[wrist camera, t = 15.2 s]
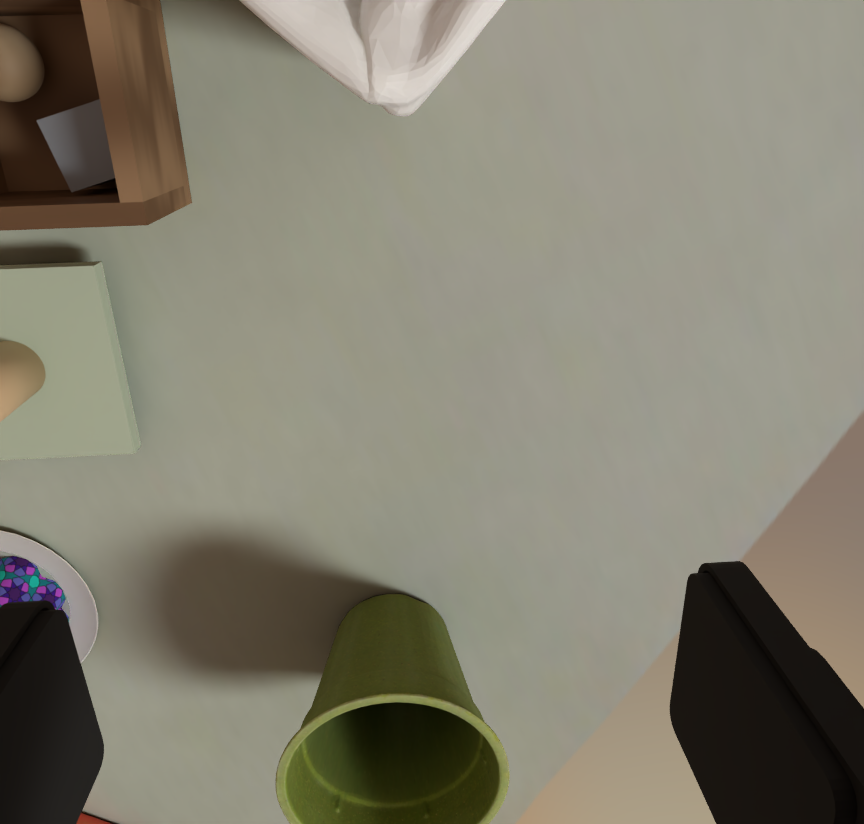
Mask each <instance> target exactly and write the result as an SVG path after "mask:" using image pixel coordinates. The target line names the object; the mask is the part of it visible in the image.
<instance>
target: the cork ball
mask: <svg viewBox="0 0 864 824" xmlns="http://www.w3.org/2000/svg"><path fill="white" fill-rule="evenodd" d="M43 80H44V63H43V59H42V57H41V54H40V52H39V50H38V49H37V47H36V46H35V44H34V43H33V42H32V41H31V40H30V39H29V38H28V37H27V36H26V35H25V34H23V33H22V32H21V31H19V30H17V29H16V28H13V27H11V26H8V25H5V24H1V23H0V101H5V102H20V101H24V100H26V99H29V98H30V97H32V96H33V95H34V94H36V93H37V91H38V90H39V89H40V87H41V85H42V83H43Z"/></svg>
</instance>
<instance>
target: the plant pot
mask: <svg viewBox="0 0 864 824" xmlns="http://www.w3.org/2000/svg"><path fill="white" fill-rule="evenodd" d="M508 785H509V764H508V760H507V756H506V753H505V750H504V748H503V746H502V744H501V742H500V740H499V739H498V737H497V736H496V734H495V733H494V732H493V730H492V729H491V728H490V727H489V726H488V725H487V724H486V723H485V722H484V720H483V718H482V715H481V713H480V711H479V710H478V708H477V706H476V705H475V704H474V702H473V700H472V697H471V694H470V692H469V689H468V686H467V683H466V681H465V678H464V675H463V672H462V670H461V667H460V664H459V661H458V659H457V656H456V653H455V650H454V648H453V645H452V642H451V639H450V636H449V633H448V631H447V628H446V625H445V623H444V621H443V619H442V617H441V616H440V615H439V613H438V612H437V611H436V610H435V609H434V608H433V607H432V606H430V605H429V604H427V603H423V602H421V601H418V600H416V599H413V598H411V597H409V596H407V595H401V594H385V595H380V596H375V597H372V598H369V599H367V600H365V601H363V602H361V603H359V604H358V605H356V606H355V607H353V608H352V609H351V610H350V611H349V612H348V614H347V615H346V617H345V618H344V619H343V621H342V622H341V624H340V626H339V628H338V631H337V634H336V636H335V639H334V643H333V646H332V649H331V651H330V654H329V657H328V660H327V663H326V666H325V669H324V672H323V675H322V678H321V681H320V684H319V687H318V690H317V693H316V696H315V699H314V701H313V704H312V707H311V709H310V710H309V712H308V713H307V715H306V717H305V719H304V721H303V723H302V726H301V729H300V730H299V731H298V732H297V733H296V734H295V735H294V736H293V738H292V739H291V740H290V742H289V743H288V745H287V746H286V748H285V750H284V752H283V754H282V756H281V758H280V761H279V764H278V768H277V773H276V793H277V798H278V802H279V804H280V807H281V809H282V811H283V813H284V815H285V816H286V818H287V820H288V821H289V823H290V824H489V823H490V822H491V820H492V819H493V818H494V816H495V815H496V814H497V812H498V811H499V809H500V807H501V806H502V804H503V802H504V799H505V796H506V793H507V790H508Z"/></svg>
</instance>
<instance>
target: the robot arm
mask: <svg viewBox="0 0 864 824" xmlns="http://www.w3.org/2000/svg"><path fill="white" fill-rule="evenodd" d="M670 716H671V721H672V725H673V728H674V731H675V734H676V736H677V738H678V740H679V742H680V745H681V747H682V749H683V751H684V753H685V756H686V758H687V760H688V762H689V764H690V767H691V769H692V771H693V773H694V776H695V778H696V780H697V782H698V784H699V786H700V789H701V791H702V793H703V795H704V797H705V800H706V802H707V804H708V806H709V809H710V811H711V813H712V815H713V817H714V820H715V822H716V824H864V708H863V707H862V706H861V705H860V703H859V702H858V701H857V699H856V698H855V697H854V696H853V694H852V693H851V692H850V690H849V689H848V688H847V687H846V685H845V684H844V683H843V682H842V680H841V679H840V678H839V677H838V675H837V674H836V673H835V671H834V670H833V669H832V667H831V666H830V665H829V664H828V662H827V661H826V660H825V659H824V658H823V657H822V656H821V655H820V654H819V653H818V652H817V651H816V650H814V649H812V648H810V647H809V646H808V645H807V643H806V642H805V641H804V640H803V638H802V637H801V636H800V634H799V633H798V632H797V631H796V629H795V628H794V627H793V625H792V624H791V623H790V622H789V620H788V619H787V618H786V616H785V615H784V614H783V612H782V611H781V610H780V609H779V607H778V606H777V605H776V603H775V602H774V601H773V599H772V598H771V597H770V596H769V594H768V593H767V592H766V591H765V589H764V588H763V587H762V585H761V584H760V583H759V581H758V580H757V579H756V577H755V576H754V575H753V573H752V572H751V571H750V570H749V568H748V567H747V566H746V565H745V564H744V563H743V562H740V561H735V562H717V563H704V564H702V565H701V566H700V568H699V571H698V573H694V574H690V576H689V577H688V581H687V587H686V594H685V601H684V608H683V615H682V622H681V629H680V637H679V643H678V651H677V658H676V665H675V672H674V679H673V686H672V693H671V700H670ZM103 754H104V744H103V739H102V735H101V732H100V729H99V725H98V722H97V718H96V715H95V711H94V708H93V704H92V701H91V698H90V694H89V691H88V687H87V684H86V680H85V677H84V674H83V670H82V667H81V663H80V660H79V656H78V653H77V649H76V646H75V643H74V639H73V636H72V632H71V629H70V625H69V622H68V618H67V616H66V614H65V612H64V611H63V610H55V607H54V605H53V604H52V603H51V602H50V601H46V600H42V601H25V602H8V603H6V604H3V605H2V606H1V607H0V824H76V823H77V821H78V819H79V816H80V814H81V812H82V809H83V807H84V805H85V803H86V800H87V798H88V796H89V793H90V791H91V789H92V786H93V784H94V782H95V780H96V777H97V775H98V773H99V770H100V768H101V765H102V760H103Z"/></svg>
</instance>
